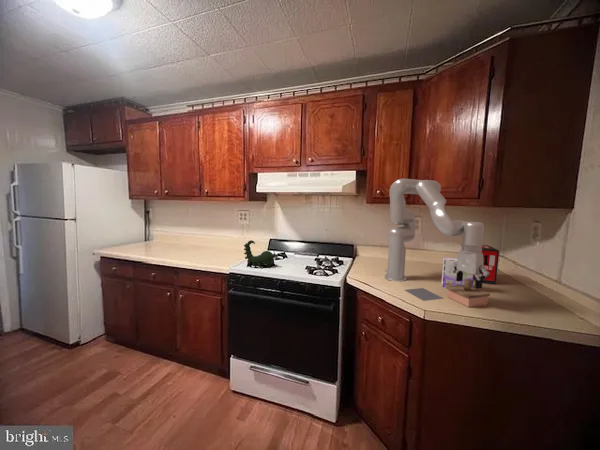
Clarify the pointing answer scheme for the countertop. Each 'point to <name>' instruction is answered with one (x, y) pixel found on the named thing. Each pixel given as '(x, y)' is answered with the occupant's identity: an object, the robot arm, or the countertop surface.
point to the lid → (468, 290)
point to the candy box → (452, 274)
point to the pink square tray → (467, 299)
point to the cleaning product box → (489, 264)
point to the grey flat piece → (423, 294)
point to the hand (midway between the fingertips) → (468, 284)
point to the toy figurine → (260, 259)
